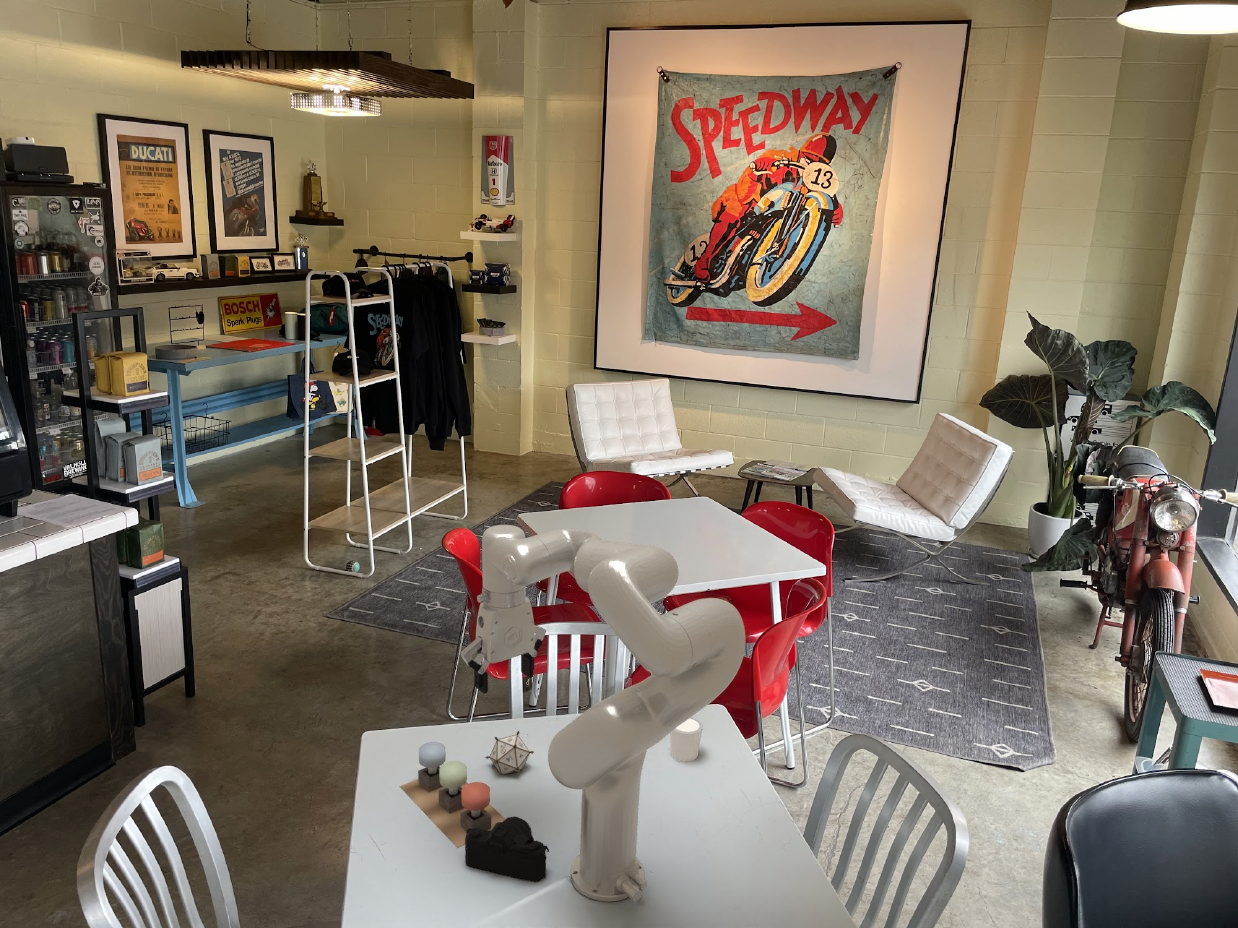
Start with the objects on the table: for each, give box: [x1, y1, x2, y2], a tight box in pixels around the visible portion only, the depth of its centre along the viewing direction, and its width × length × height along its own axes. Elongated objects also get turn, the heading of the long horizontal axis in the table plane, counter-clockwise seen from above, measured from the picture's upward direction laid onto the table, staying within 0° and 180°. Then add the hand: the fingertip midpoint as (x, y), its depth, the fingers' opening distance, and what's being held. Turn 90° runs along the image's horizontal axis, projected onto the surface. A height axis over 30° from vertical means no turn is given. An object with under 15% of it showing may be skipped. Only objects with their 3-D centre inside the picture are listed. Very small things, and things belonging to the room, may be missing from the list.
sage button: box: [439, 760, 468, 795], centre depth 172 cm, size 5×5×5 cm
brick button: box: [462, 781, 491, 817], centre depth 167 cm, size 5×5×5 cm
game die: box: [484, 730, 535, 775], centre depth 185 cm, size 9×8×10 cm
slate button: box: [418, 741, 447, 774], centre depth 178 cm, size 5×5×5 cm
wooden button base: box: [399, 765, 506, 849], centre depth 174 cm, size 22×11×4 cm, turn 39°
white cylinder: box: [669, 716, 704, 763], centre depth 194 cm, size 7×7×7 cm
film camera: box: [464, 816, 550, 883], centre depth 160 cm, size 15×10×9 cm, turn 74°
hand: (504, 682), depth 169 cm, fingers open, 9 cm apart
